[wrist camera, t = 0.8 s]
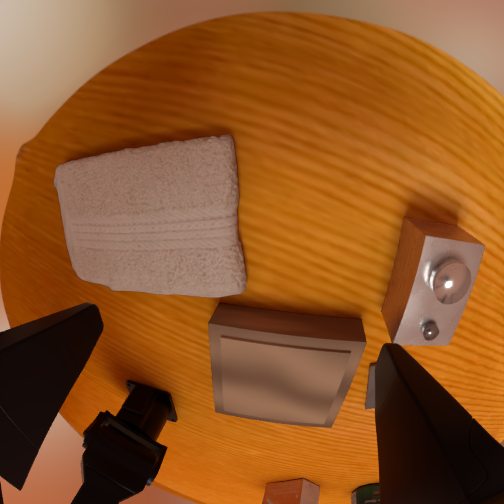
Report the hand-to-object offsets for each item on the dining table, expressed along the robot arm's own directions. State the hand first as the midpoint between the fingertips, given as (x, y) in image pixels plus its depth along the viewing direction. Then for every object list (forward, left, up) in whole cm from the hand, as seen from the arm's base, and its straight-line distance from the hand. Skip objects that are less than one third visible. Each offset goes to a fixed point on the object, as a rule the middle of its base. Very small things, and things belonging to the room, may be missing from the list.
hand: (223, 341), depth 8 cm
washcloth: (-1, +11, -14) cm, 18 cm away
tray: (-14, -2, -13) cm, 19 cm away
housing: (-3, -12, -14) cm, 18 cm away
